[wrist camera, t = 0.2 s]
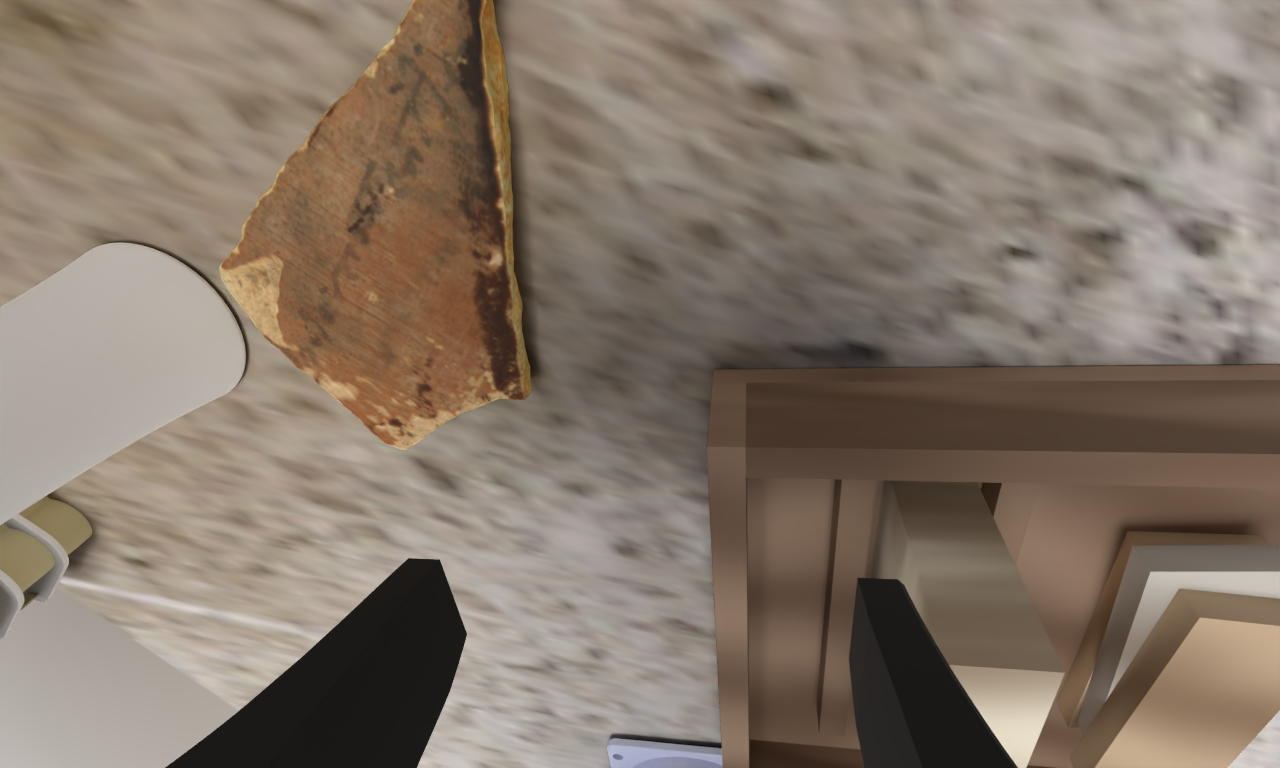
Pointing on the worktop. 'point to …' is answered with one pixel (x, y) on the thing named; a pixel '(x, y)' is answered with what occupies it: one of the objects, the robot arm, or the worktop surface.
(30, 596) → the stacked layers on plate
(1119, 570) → the offcut bottom
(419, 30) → the shard
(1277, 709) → the offcut top
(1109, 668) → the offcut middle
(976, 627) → the birch sheet
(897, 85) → the worktop surface
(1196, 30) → the worktop surface
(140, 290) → the cosmetic bottle
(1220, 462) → the rack
